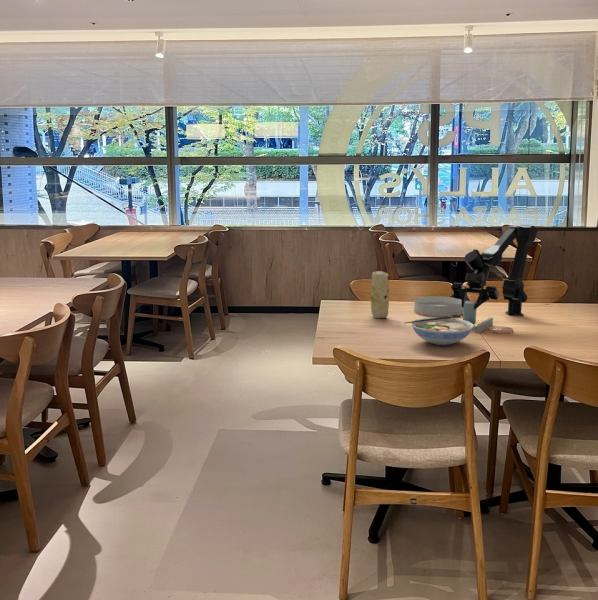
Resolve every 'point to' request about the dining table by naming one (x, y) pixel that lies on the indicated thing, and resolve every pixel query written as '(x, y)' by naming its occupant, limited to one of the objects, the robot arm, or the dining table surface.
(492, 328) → the coaster
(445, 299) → the dish
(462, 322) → the ramen bowl
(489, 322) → the acrylic divider
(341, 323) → the dining table surface
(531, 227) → the robot arm
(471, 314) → the salt shaker
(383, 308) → the food model
